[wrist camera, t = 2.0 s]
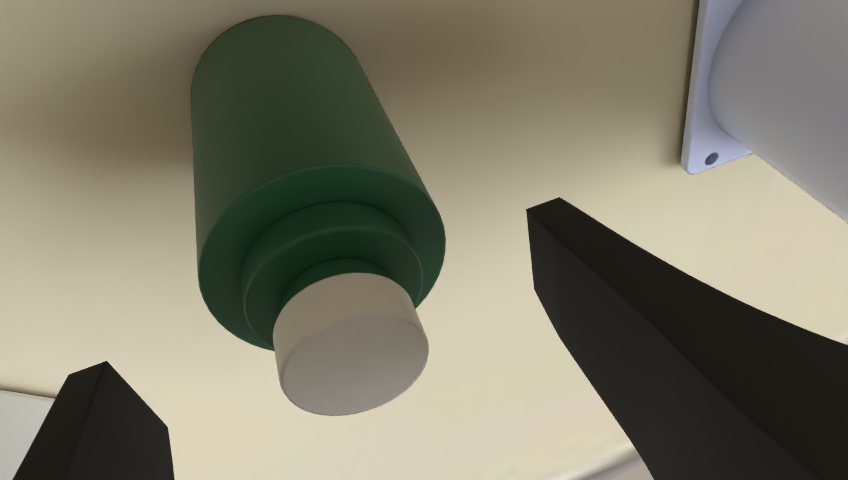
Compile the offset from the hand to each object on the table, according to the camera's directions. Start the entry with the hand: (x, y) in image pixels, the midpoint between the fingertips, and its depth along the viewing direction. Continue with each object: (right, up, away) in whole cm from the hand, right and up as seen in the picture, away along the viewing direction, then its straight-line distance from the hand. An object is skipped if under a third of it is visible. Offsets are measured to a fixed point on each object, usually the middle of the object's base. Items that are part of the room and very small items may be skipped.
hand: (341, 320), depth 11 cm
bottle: (-2, +5, +6) cm, 8 cm away
